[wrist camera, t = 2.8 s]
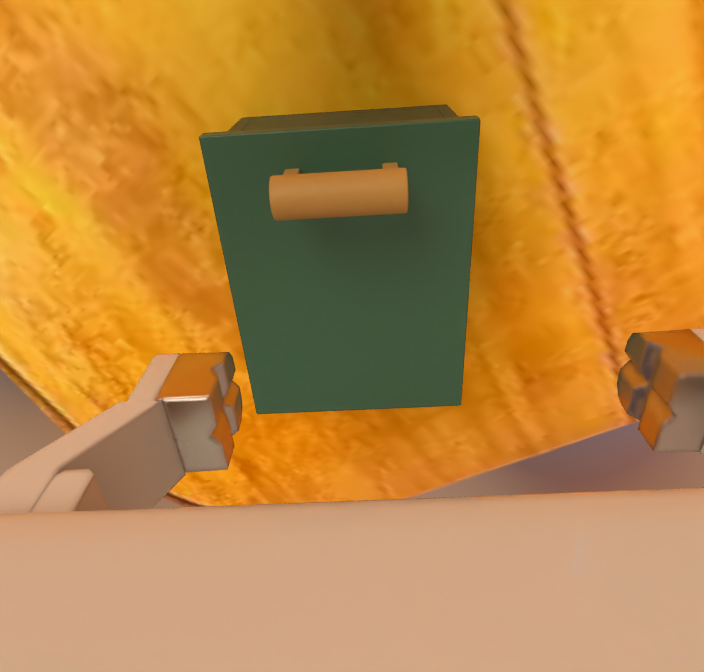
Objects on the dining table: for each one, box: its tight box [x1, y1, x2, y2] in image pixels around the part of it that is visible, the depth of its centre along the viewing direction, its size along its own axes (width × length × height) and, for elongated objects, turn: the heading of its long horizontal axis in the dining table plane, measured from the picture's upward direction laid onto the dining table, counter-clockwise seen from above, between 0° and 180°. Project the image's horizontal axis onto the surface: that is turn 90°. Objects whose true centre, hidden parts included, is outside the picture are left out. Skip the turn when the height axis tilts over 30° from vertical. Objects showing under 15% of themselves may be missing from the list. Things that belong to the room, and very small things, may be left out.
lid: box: [199, 116, 480, 414], centre depth 26 cm, size 16×13×5 cm
